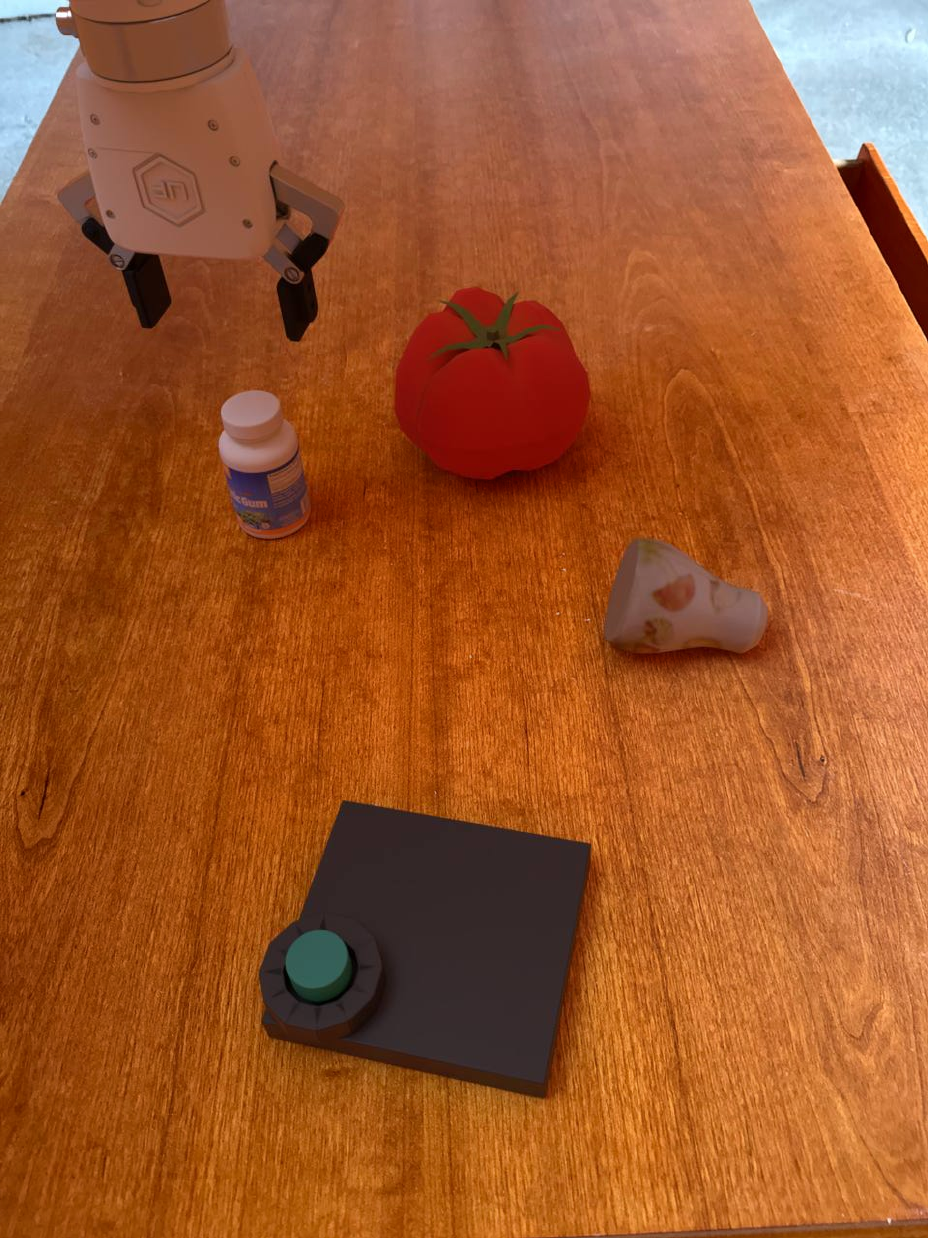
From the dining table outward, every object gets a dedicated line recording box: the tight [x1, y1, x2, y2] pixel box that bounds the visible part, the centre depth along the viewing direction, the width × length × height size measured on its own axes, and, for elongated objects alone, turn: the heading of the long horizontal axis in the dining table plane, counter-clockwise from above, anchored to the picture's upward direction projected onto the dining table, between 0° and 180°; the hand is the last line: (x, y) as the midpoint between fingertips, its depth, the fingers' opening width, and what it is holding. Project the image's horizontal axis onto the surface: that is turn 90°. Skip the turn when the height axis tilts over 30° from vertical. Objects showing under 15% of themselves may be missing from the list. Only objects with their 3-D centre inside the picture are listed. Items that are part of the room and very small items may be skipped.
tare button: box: [286, 930, 352, 1002], centre depth 55 cm, size 3×3×2 cm
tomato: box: [394, 285, 592, 481], centre depth 82 cm, size 13×14×12 cm
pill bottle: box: [218, 389, 312, 540], centre depth 79 cm, size 5×5×10 cm
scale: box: [257, 799, 592, 1100], centre depth 58 cm, size 14×13×4 cm
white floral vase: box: [603, 537, 769, 654], centre depth 71 cm, size 8×10×10 cm
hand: (228, 322), depth 71 cm, fingers open, 9 cm apart
